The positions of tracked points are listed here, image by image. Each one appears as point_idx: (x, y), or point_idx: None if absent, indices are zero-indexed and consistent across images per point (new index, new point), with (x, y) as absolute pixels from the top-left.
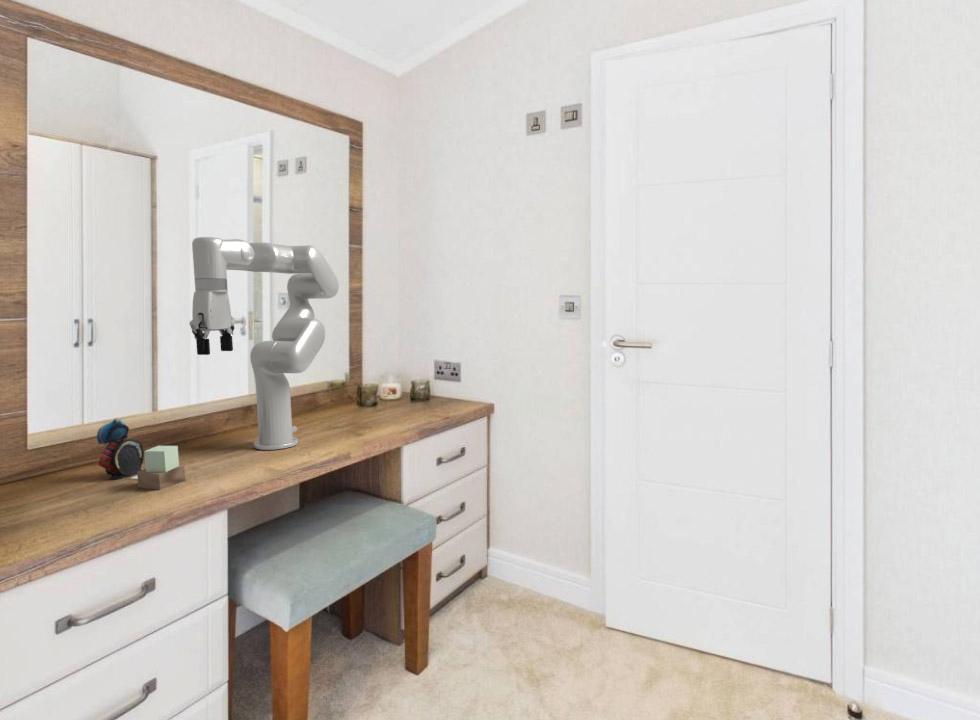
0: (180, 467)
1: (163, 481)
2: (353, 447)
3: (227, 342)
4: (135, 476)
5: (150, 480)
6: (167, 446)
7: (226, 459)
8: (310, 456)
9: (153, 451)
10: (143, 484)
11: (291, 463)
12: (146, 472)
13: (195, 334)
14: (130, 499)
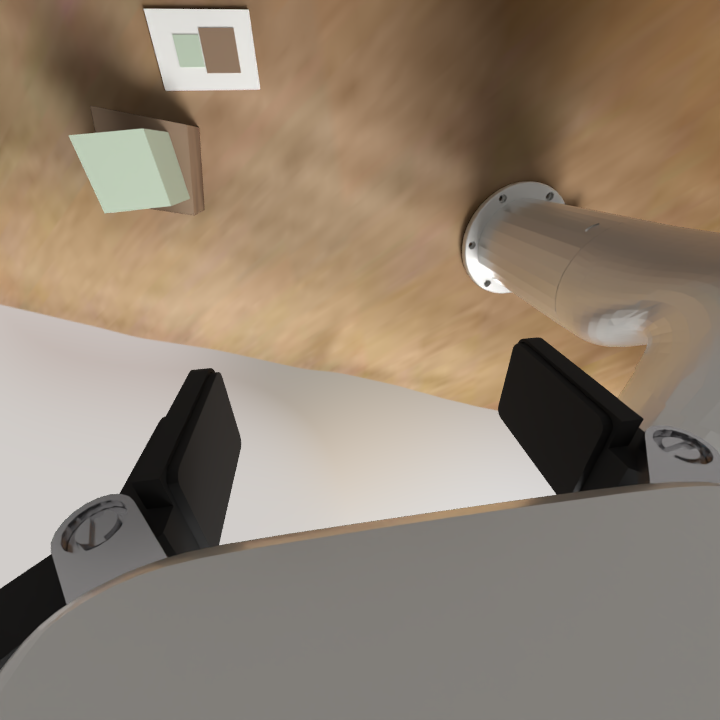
0: (181, 213)
1: None
2: (477, 399)
3: (539, 440)
4: (162, 14)
5: None
6: (150, 175)
7: (381, 190)
8: (416, 361)
9: (86, 173)
10: None
11: (367, 354)
12: None
13: (11, 605)
14: (43, 176)
